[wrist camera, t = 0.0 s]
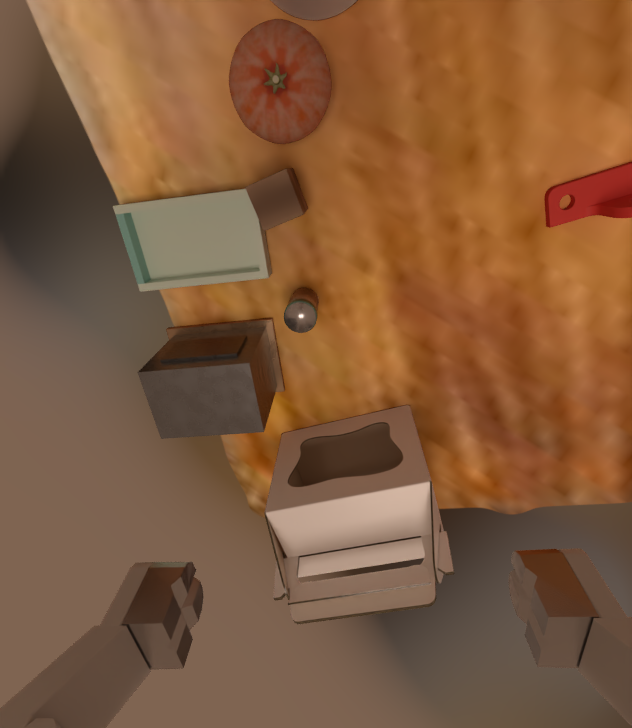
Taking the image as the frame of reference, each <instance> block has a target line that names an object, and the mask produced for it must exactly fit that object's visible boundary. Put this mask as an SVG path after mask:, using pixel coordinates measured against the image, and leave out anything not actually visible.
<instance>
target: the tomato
mask: <svg viewBox="0 0 632 728" xmlns="http://www.w3.org/2000/svg"><path fill="white" fill-rule="evenodd" d="M229 87H230V93H231V97H232V100H233V103H234V106H235V108H236V111H237V113H238V115H239V117H240V118H241V120H242V122H243V123H244V124H245V126H246V127H247V128H248V129H249V130H251V131H252V132H253V133H255V134H256V135H257V136H259V137H261V138H263V139H265V140H267V141H270V142H273V143H278V144H286V143H291V142H294V141H297V140H300V139H302V138H304V137H306V136H307V135H309V134H310V133H311V132H312V131H313V130H314V129H315V128H316V127H317V126H318V125H319V123H320V121H321V120H322V118H323V116H324V114H325V111H326V109H327V107H328V103H329V99H330V95H331V76H330V70H329V65H328V62H327V59H326V56H325V54H324V52H323V49H322V47H321V45H320V44H319V42H318V41H317V39H316V38H315V37H314V36H313V35H312V34H311V33H310V32H308V31H307V30H306V29H304V28H303V27H301V26H299V25H297V24H295V23H293V22H290V21H287V20H283V19H274V20H269V21H266V22H263V23H261V24H259V25H257V26H255V27H254V28H252V29H251V30H250V31H249V32H248V33H246V34H245V35H244V36H243V38H242V39H241V40H240V42H239V44H238V46H237V47H236V50H235V52H234V55H233V58H232V62H231V67H230V74H229Z"/></svg>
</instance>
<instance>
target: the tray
mask: <svg viewBox="0 0 632 728" xmlns="http://www.w3.org/2000/svg"><path fill="white" fill-rule="evenodd" d="M113 208H114V211H115V214H116V218H117V220H118V224H119V227H120V230H121V233H122V236H123V240H124V243H125V246H126V249H127V251H128V255H129V258H130V261H131V265H132V268H133V271H134V274H135V277H136V280H137V283H138V287H139V289H140V291H149V290H159V289H168V288H178V287H187V286H197V285H207V284H216V283H226V282H235V281H245V280H254V279H264V278H269V277H270V275H271V274H272V271H271V265H270V259H269V253H268V247H267V241H266V235H265V231H264V230H263V228H262V226H261V223H260V221H259V219H258V216H257V214H256V212H255V209H254V207H253V205H252V203H251V200H250V198H249V196H248V193H247V191H246V189H237V190H229V191H222V192H214V193H206V194H198V195H191V196H183V197H175V198H167V199H159V200H152V201H144V202H136V203H128V204H121V205H116V206H113Z"/></svg>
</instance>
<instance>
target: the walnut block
mask: <svg viewBox="0 0 632 728" xmlns="http://www.w3.org/2000/svg"><path fill="white" fill-rule="evenodd" d="M245 189H246V191H247V193H248V196H249V198H250V200H251V203H252V205H253V207H254V209H255V212H256V214H257V216H258V219H259V221H260V223H261V226H262V228H263V230H264V231H265V230H268V229H270V228H273V227H275V226H277V225H280V224H282V223H284V222H287V221H289V220H292V219H294V218H296V217H299V216H301V215H303V214H304V213H305V212H306V211H307V209H308V207H307V204H306V202H305V199H304V196H303V194H302V191H301V188H300V186H299V183H298V180H297V178H296V175H295V173H294V170H293V168H290V169H284V170H282V171H280V172H278V173H275V174H273V175H271V176H269V177H267V178H264V179H262V180H260V181H258V182H256V183H253V184H251V185H249V186H247V187H245Z"/></svg>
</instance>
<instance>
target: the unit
mask: <svg viewBox="0 0 632 728" xmlns="http://www.w3.org/2000/svg"><path fill="white" fill-rule="evenodd" d="M166 331H167V334H168V338H169V341H168V342H167V343H166V344H165V345H164V346H163V347H162V348H161V349H160V350H159V351H158V352H157V353H156V354H155V355H154V356H153V357H152V358H151V359H150V360H149V361H148V362H147V363H146V365H145V366H144V367H143V368H142V369H141V370H140V371H139V372H138V374H139V377H140V380H141V383H142V386H143V389H144V392H145V394H146V397H147V400H148V403H149V406H150V408H151V411H152V414H153V417H154V420H155V422H156V425H157V428H158V431H159V434H160V436H161V438H162V439H163V438H178V437H192V436H193V437H194V436H209V435H225V434H240V433H255V432H264V430H265V426H266V423H267V419H268V416H269V413H270V409H271V406H272V402H273V399H274V395H275V392H281V391H285V386H284V380H283V375H282V369H281V363H280V358H279V352H278V346H277V340H276V335H275V329H274V323H273V318H265V319H254V320H243V321H233V322H222V323H212V324H201V325H190V326H180V327H169V328H167V329H166Z"/></svg>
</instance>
